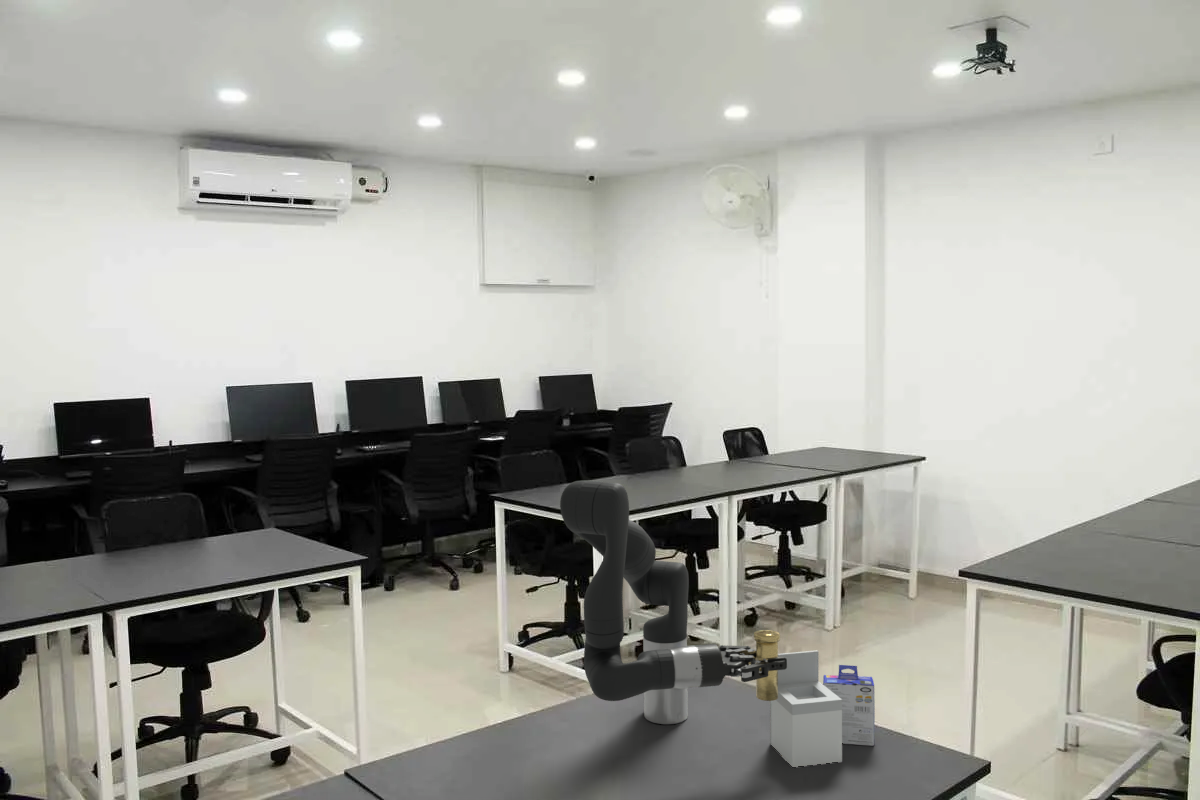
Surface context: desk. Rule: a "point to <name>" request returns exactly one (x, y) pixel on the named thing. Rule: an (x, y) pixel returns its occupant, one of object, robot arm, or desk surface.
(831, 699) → the hinge block
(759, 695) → the hinge pin
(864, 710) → the ink cartridge box
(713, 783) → the desk surface
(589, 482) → the robot arm
